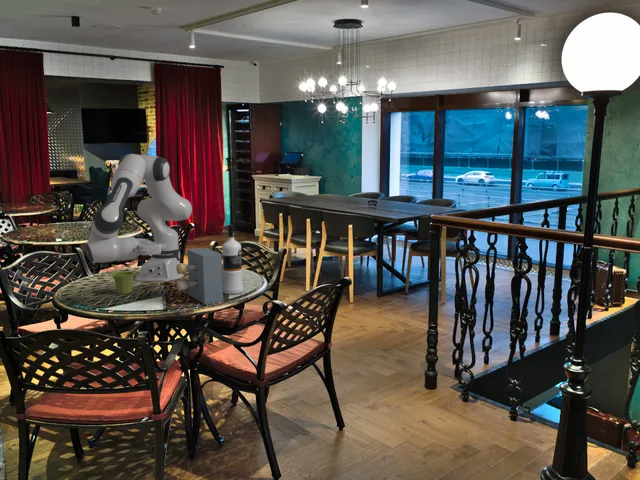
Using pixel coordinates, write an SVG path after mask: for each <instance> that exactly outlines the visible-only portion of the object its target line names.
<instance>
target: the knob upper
mask: <svg viewBox="0 0 640 480" xmlns="http://www.w3.org/2000/svg"><path fill="white" fill-rule="evenodd" d="M193 269H197V265H190V266H188V265H187V264H186V263H180V264H177V266H176V270H177V273H178V274H187V271H188V270H193Z"/></svg>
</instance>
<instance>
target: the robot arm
mask: <svg viewBox="0 0 640 480" xmlns="http://www.w3.org/2000/svg"><path fill="white" fill-rule="evenodd" d="M170 168H171V167H170V163H169V161H168V160H167V159H166V158H164V157H162V156H161V157H160V156H157V155H149V154H137V153H136V154H135V153H127V154H123V155H122V156H121V157H120V158H119V159H118V163H117V168H116V170H115V172H114V174H113V177H112V179H111V182H110V189H111V192H110V194H109V197H108V199H107V201H106V202H105V203H104V204H103V205H102V206H100V207H99V208H98V209H97V210H96V211H95V212H94V217H93V221H92V225H91V229H90V234H89V237H88V240H86V242H85V244H84V250H85V251H84V252H85V255H86V258H87V259H88V261H90V262H92V263H114V262H115V261H130V260H132V261H133V260H137V258H138V256H140V255H141V256H151V258H149V259H148V260H146V262H145V263H143V264H142V265H141V267H140V272H139V274H137V275H136V276H135V281H136V282H158V283H159V282H160V283H161V282H163V283H164V282H169V281H174V280H179V279H182V278H183V277H184V273H182V274H178V273H177V270H176V266H177V264H181V261H180V260H181V251H180V247H179V234H178V232H177V231H176V230H175V229H174V228H171V227H170V226H168V225H167V224H166V222H177V221H178V222H180V221H184V220H188V219H189V218H190V217H191V216H192V213H193V206H192V204H191V202H190V201H189V200H188V199H186V198H185V197H182V196H181V195H180V194H178V192H176V190H175V189H174V188H173V185H172V182H171V180H170V179H171V178H170V171H171V170H170ZM143 181H144V183H145V186H146V190H147V193H148V195H149V197H150V198H145V199H142V200H140V202H139V203H138V205H137V215H138V216H139V218H140V219H141V220H142V221H144V222H146V224H147V225H148V226H149V227H150V229H151V232H152V234H153V239H154V241H152V240H149V239H147V238H135V236H127V237H126V236H125V237H119V236H118V232H119V230H120V229H121V227H122V224H123V223H124V215H123V209H124V206H125V205H126V203H127V200H128V198H131V197H134V196H135V195H136V194H137V192H138V190H139V188H140V186H141V185H142V182H143Z"/></svg>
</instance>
